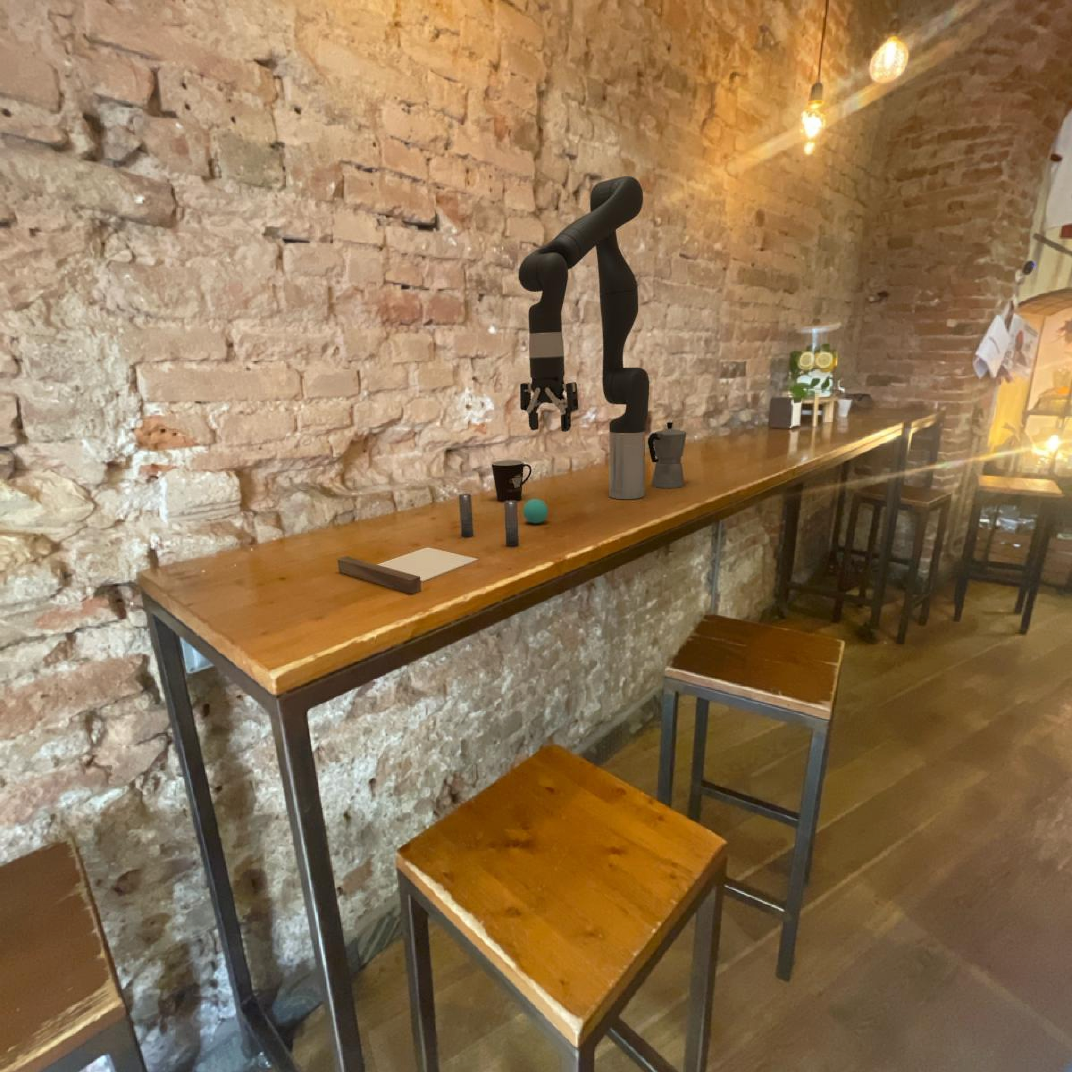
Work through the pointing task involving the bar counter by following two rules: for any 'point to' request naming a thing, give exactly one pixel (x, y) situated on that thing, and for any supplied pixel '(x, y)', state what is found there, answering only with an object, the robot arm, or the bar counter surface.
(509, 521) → the post
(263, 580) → the bar counter surface
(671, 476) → the coffeepot
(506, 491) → the coffee mug
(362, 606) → the bar counter surface
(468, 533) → the post
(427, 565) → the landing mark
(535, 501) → the ball
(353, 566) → the wall
